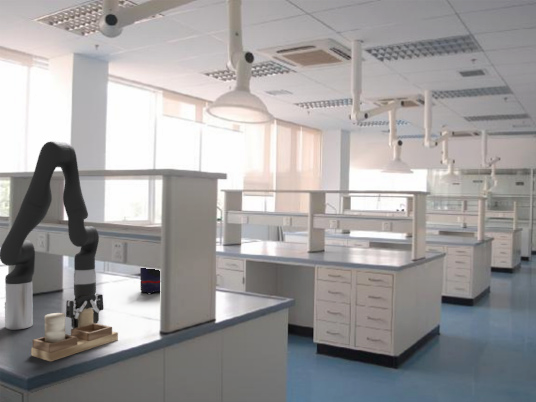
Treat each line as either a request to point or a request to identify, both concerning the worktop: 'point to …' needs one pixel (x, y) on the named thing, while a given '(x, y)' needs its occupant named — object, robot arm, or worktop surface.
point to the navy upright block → (150, 280)
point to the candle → (85, 317)
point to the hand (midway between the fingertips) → (85, 325)
